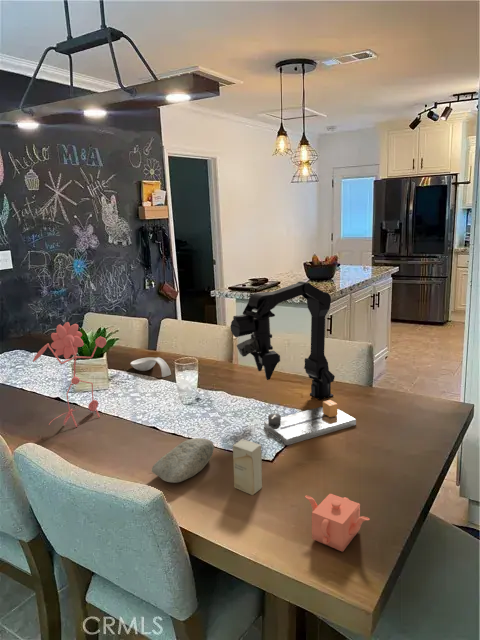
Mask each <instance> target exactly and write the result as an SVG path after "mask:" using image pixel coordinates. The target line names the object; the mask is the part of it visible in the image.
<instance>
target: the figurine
mask: <svg viewBox="0 0 480 640" xmlns="http://www.w3.org/2000/svg"><path fill="white" fill-rule="evenodd" d="M55 331H56V332H52V333H51V334H50V337H51V340H52V341H53V342H51V343H46V344H45V345H44V346H42V347H41V349H39V351H37V353H36V354H35V356H34V358H33V360H32V362H35V361H37V360H38V359H39V358H41V356H42V355H43V354H44V353H45V351H46V350H47V349H48V348H49V350H50V352H51V353H52V354H53V355H54V357H55V358H56V360H57V361H58V362H59V364H60V365H64V364H65V363H67V362H70V361H72V360H73V377H72V378H71V380H70V381H71V383H70V385H69V387H68V390H67V392H66V394H65V395H66V401H67V407H68V412H63V413H62V414H61V415H58V416H57V417H55V418H54V419H51V420H50V422H49V424H51V423H52V422H54V420H56V419H57V418H59V417H61V416H62V415H64V414H66V415H65V418H64V419H63V425H64V426H65V425H66V423H67V421H68V420H69V419H70V417H71V419H72V421H73V424H74V425H75V428H77V427H78V425H77V422H76V420H75V416H74V414H73V411H79V410H80V408H78V409H74V408H71V409H70V403H69V396H68V393H69V392H70V390H71V387H72V385H78V384H79V383H80V382H82V383H87V384H91V398H92V399H91V401H90V402H89V403H88V405H87V406H88V408H87V409H88V410H89V411H90V412H95V414H97V416H98V417H97V418H100V417H101V416H100V414H99V411H98V409H97V408H98V407H99V401H98V400H96V399H94V384H93V382H91V381H85V380H81V379H80V378H79V377H78V376H76V365H77V364H76V362H77V359H93V357H94V355H95V353H96V350H97V348H101V349H102V348H104V347H105V346H106V345H107V339H106V338H105V337H103V336H101V335H100V336H98V337H97V338H96V339H95V340H94V341H95V343H94V344H95V347H94V349H93V351H92V353H91V356H81V355H80V356H78V348H81V347H83V346H84V344H85V343H84V341H83V339H82V338H81V337H82V336H83V333H82V332H81V331H79V324H77V323H74V324H72V325H70V322H69V321H67V322H66V321H65V323H64V324H63V325H62V324H58V325H57V326H56V330H55ZM54 350H55V351H54ZM59 356H63V357H64V359H65V360H64V361H61V359H60V358H59ZM72 356H73V357H72ZM70 357H71V358H70ZM73 409H74V410H73ZM112 411H113V412H115V410H114V409H112Z"/></svg>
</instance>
